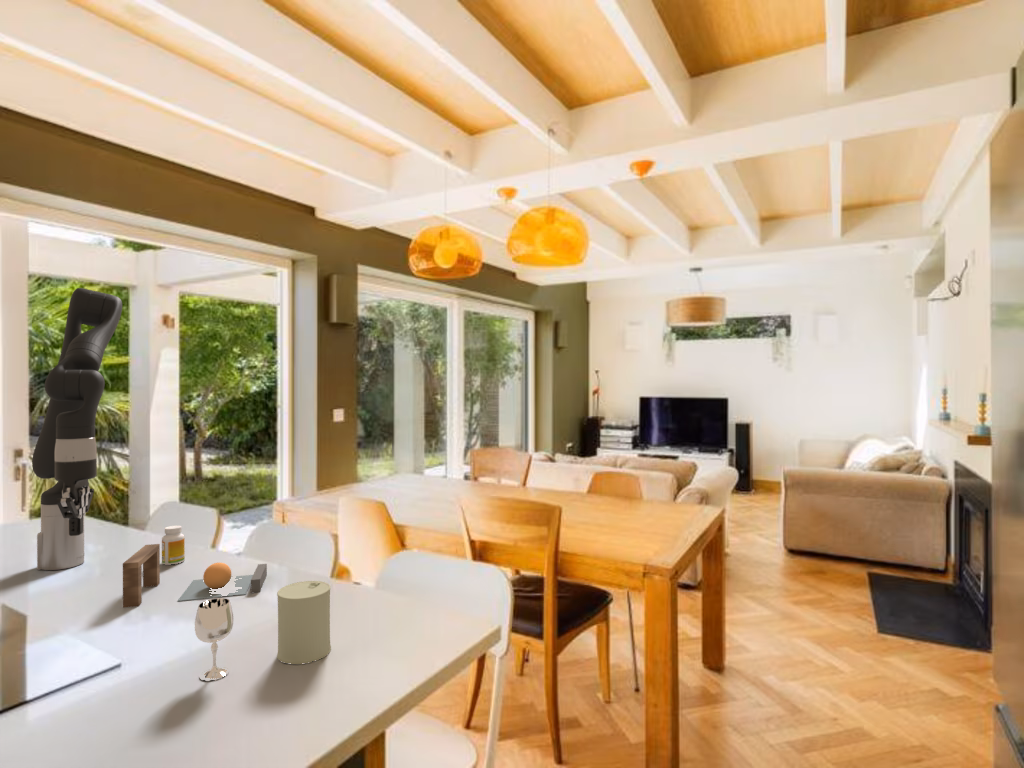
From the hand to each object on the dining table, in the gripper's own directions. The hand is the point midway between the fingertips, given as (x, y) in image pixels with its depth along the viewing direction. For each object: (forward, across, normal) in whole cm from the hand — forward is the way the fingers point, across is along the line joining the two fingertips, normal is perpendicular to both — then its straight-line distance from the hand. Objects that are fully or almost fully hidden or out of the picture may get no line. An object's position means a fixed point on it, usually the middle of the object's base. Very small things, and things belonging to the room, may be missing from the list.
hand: (76, 534), depth 128 cm
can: (+15, -41, -51) cm, 67 cm away
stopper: (+15, 0, -38) cm, 41 cm away
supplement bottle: (+15, +25, -13) cm, 32 cm away
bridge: (+15, 0, -13) cm, 20 cm away
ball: (+12, 0, -29) cm, 31 cm away
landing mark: (+15, 0, -29) cm, 33 cm away
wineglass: (+15, -45, -37) cm, 60 cm away
